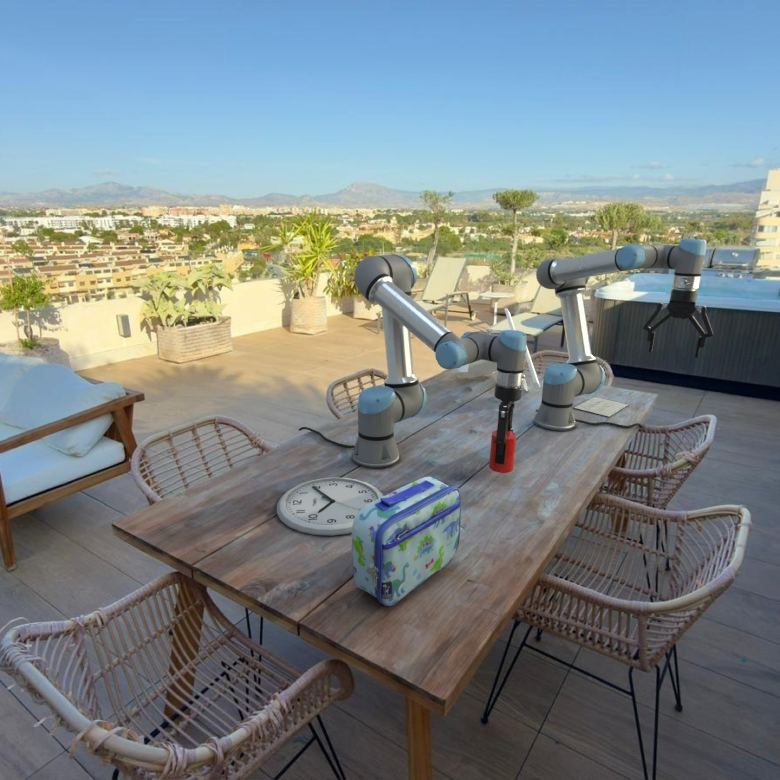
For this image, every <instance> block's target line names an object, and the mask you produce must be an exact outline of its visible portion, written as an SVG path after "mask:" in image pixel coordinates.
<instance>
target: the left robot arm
mask: <svg viewBox="0 0 780 780" xmlns="http://www.w3.org/2000/svg"><path fill="white" fill-rule="evenodd" d="M353 276H354V284H355V286H356V288H357V290H358V291H359V293H360V294H361V295H362V297H364V298H365V299H366V300H367V301H368V302H370V303H371V304H372V305H378V306H379V307H381V314H382V315H381V316H382V325H383V335H384V346H385V358H386V367H387V368H386V369H387V376H386V378H385V379H384V382H383V383H384V385H376V386H369V387H367V388H364V389H363V390H362V391H361V392H360V393H359V394H358V397H357V398H358V400H357V439H356V442H355V445H353V444H352V445H349V444H345V443H339V442H337V441H334V440H331V439H329V438H327V437H326V436H325V435H324V434H323V433H321V432H320V431H318V430H315V429H314V428H311V427H308V426H301V427H299V428H298V431H299V432H300V431H302V430H307V431H309V432H312V433H315V434H316V435H318V436H320V438H322V439H323V440H324V441H326V442H328V443H331V444H333V445H335V446H339V447H343V448H347V449H353V451H352V461H353V462H354V463H355V464H356V465H358V466H361V467H364V468H369V469H383V468H389V467H391V466H394V465H396V464H398V462H399V460H400V452H399V447H398V445H397V442H396V439H395V424H397V423H400V422H402V421H405V420H407V419H411V418H413V417H415V416H417V415H418V414H420V413H421V412H422V411H423V410H424V409H425V407H426V405H427V399H428V398H427V397H428V396H427V391H426V389H425V387H423V384H422V383H421V382H419V377H418V376H417V375H416V374H415V373H414V362H413V352H412V340H411V334H412V335H414V337H416V338H417V339H419V341H420V342H422V343H423V344H424V345H425V346H427V347H428V348H429V349H430V350H431V351H433V352H434V353H435V354H434V356H435V360H436V361H437V364H438V365H439V367H440V368H442V369H444V370H454V369H455V368H460V367H462V366H464V365H466V364H469V363H473V362H476V361H479V360H487V361H492V362H497V370H496V371H495V386H494V398H495V399H497V400H499V401H500V404H499V405H498V412H497V413H498V416H497V419H498V420H497V427H496V430H497V435H496V441H494V443H496V454H495V463H497V464H503V465H504V463H505V452H506V436H507V430H508V431H511V432H514V429H512V428H513V418H514V417H513V416H514V410H515V402H518V401H520V400H521V399H522V392H523V385H522V382H523V379H525V380H526V375H525V374H524V372H525V361H526V356H525V354H526V350H527V348H528V346H527V347H526V345H527V339H528V337H527V334H526V332H524V331H521V330H516V329H515V330H511V329H503V330H501V331H500V332H499V335H495V334H489V333H488V334H487V333H482V332H479V331H465V332H464V333H463V334H462V335H461V336H458V335H457V334H456V333H454V332H453V331H452V330H450V329H449V328H448V327H447V326H446V325H445V324H443V323H442V322H441V321H440V320H438V319H437V318H436V317H435V316H433V315H432V314H431V313H430V312H429V311H427V310H426V309H425V308H424V307H423V306H421V305H420V304H419V303H418V302H417V301H415V300H414V299H413V298H412V296H413V294H412V289H413V288H414V287H415V284H417V280H418V272H417V268H416V266H415V264H414V262H413V261H412V260H411V259H410V258H409V257H407V256H406V255H401V254H388V255H386V254H385V255H370V256H367V257H365V258H363V259H362V260H361V261H360V262H359V263H357V266H356V267H355V270H354V275H353ZM523 374H524V375H523Z"/></svg>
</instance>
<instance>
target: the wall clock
mask: <svg viewBox="0 0 780 780" xmlns="http://www.w3.org/2000/svg"><path fill="white" fill-rule="evenodd" d="M383 496H385V494H384V493H383V492H382V491H381V490H380V489H379V488H377V487H376V486H374V485H372V484H371V483H369V482H365V481H362V480H359V479H355V478H349V477H338V476H337V477H335V476H333V477H332V476H331V477H322V478H317V479H312V480H307V481H305V482H302V483H299V484H297V485H295V486H293V487H292V488H290V489H288V490H287V491H286V492H285V493H284V494H283V495H281V496H280V498H279V499H278V502H277V503H276V515H277V517H278V518H279V520H280V521H281V522H282V523H283V524H285V525H286V526H287V527H288V528H290V529H293V530H295V531H297V532H299V533H303V534H308V535H312V536H327V537H328V536H329V537H331V536H332V537H333V536H342V535H350V534H352V526H353V521H354V518H355V516H356V515H357V513H358V512H359V510H360V509H361V508H362V507H364V506H365V505H367V504H369V503H371V502H373V501H375V500H377V499H379V498H381V497H383Z"/></svg>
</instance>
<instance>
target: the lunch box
mask: <svg viewBox="0 0 780 780" xmlns="http://www.w3.org/2000/svg"><path fill="white" fill-rule="evenodd" d="M461 499H462V497H461V491H460V489H459V488H458V487H457V486H455V485H450V486H449V485H447V484H445V483H444V482H442V481H440V480H438V479H436V478H434V477H432V476H424V477H421V478H419V479H416V480H414V481H412V482H410V483H407V484H405V485H404V486H401V487H399V488H397V489H395V490H392V491H391V492H390V493H386V494H384V496H383V497H381V498H379V499H377V500H375V501H373V502H371V503H369V504H367V505H365V506H364V507H362V508H361V509H360V510H359V512H358V513H357V515H356V516H355V518H354V521H353V526H352V533H351V550H352V576H353V581H354V584H355V587H356V588H358V589H360V590H362V591H364V592H366V593H368V594H370V596H372V597H374V598H375V599H377V601H378V603H379V604H382V605H383V606H385V607H393V606H394V605H396V604H397V603H399V602H400V601H402V599H404V598H405V597H406V596H407V595H409V594H410V593H411V592H413V591H414V590H415V589H416V588H418V587H419V586H420V585H422V584H423V583H424V582H425V581H427V580H428V579H429V578H430V577H432V575H434V574H435V573H437V572H439V571H441V570H442V569H443V568H445V567H446V566H448V565H449V564H450V562H452V560H453V559H454V557H455V555H456V553H457V551H458V549H459V544H460V537H461V519H462V515H461V513H462V512H461V510H462V507H461V505H462V504H461V503H462V502H461Z"/></svg>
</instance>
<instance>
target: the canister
mask: <svg viewBox="0 0 780 780" xmlns="http://www.w3.org/2000/svg"><path fill="white" fill-rule="evenodd" d="M496 435H497V429H496V430H493V431H492V432H491V440H490V449H489V460H488V461H489V462H488V467H489V468H488V469H490V470H491V471H493V472H495V473H500V474H508V473H511V472H513V471H514V466H515V465H514V464H515V455H516V446H517V445H516V444H517V433H515V432H514V431H513V432H511V431H508V430H507V436H506V452H505V463H504V465H503V464H497V463H495V454H496V443H494V441H496Z"/></svg>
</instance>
